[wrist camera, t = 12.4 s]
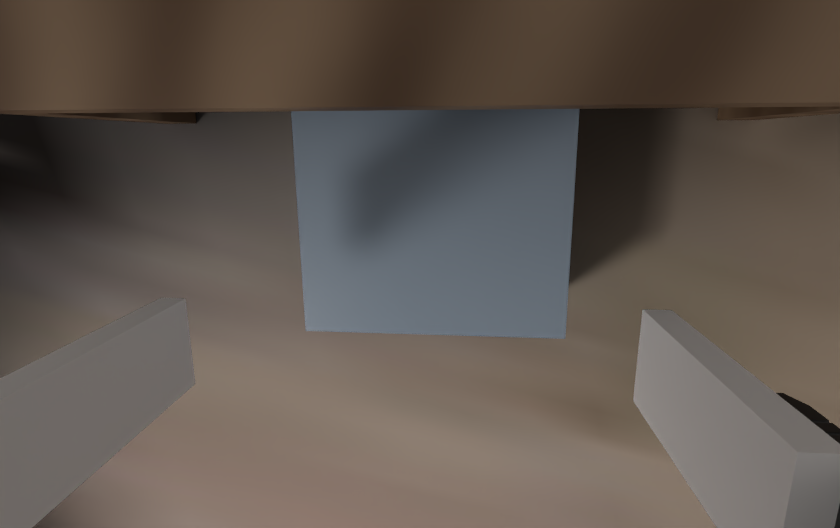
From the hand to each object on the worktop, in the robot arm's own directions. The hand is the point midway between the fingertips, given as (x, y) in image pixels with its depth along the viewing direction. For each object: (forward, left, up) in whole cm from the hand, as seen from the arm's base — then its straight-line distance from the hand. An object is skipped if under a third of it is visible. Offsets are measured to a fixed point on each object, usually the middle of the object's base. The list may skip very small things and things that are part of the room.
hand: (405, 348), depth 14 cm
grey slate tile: (0, +8, -10) cm, 12 cm away
